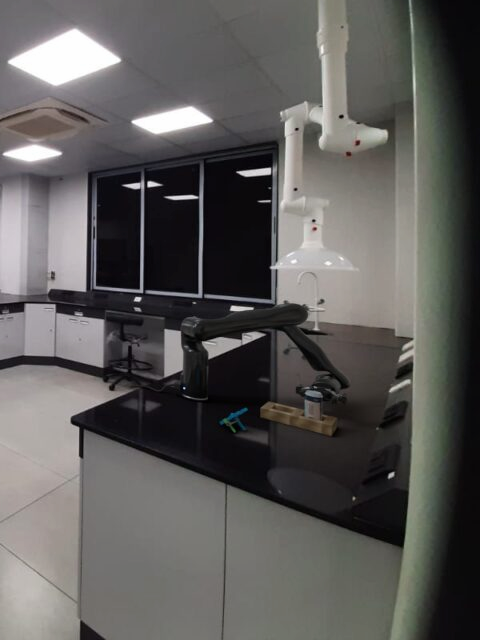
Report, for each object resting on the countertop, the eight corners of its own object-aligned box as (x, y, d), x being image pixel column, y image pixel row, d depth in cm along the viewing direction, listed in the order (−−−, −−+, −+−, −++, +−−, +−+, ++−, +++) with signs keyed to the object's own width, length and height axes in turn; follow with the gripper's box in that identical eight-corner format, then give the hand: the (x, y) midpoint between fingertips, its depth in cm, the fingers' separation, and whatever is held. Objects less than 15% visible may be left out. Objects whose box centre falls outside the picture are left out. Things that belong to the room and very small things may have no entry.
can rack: (260, 417, 147) (260, 407, 147) (268, 410, 154) (268, 401, 154) (331, 436, 132) (331, 425, 132) (336, 427, 139) (337, 417, 139)
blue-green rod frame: (229, 415, 143) (250, 402, 136) (242, 431, 140) (264, 419, 133) (210, 424, 138) (230, 412, 131) (223, 441, 135) (245, 429, 128)
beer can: (325, 430, 137) (326, 395, 137) (309, 428, 138) (310, 393, 138) (316, 424, 142) (317, 390, 142) (300, 422, 142) (301, 389, 143)
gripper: (302, 375, 161) (292, 382, 150) (350, 384, 150) (344, 392, 139) (301, 393, 161) (292, 402, 150) (350, 404, 150) (344, 414, 139)
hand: (317, 397), depth 145 cm, fingers open, 8 cm apart
